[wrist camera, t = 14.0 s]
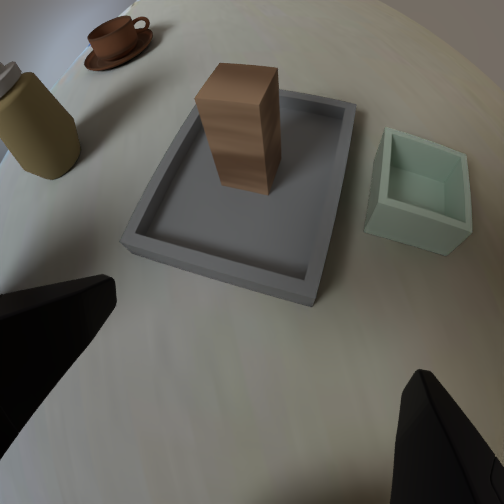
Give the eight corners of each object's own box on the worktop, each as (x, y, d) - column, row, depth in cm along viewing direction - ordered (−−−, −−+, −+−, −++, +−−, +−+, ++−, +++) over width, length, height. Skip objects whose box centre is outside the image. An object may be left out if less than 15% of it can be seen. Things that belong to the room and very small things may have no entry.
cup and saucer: (131, 34, 42) (121, 8, 37) (170, 41, 39) (160, 10, 33) (78, 71, 40) (64, 45, 34) (108, 83, 36) (92, 52, 30)
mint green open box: (446, 256, 22) (472, 232, 18) (363, 232, 23) (377, 202, 19) (446, 183, 24) (466, 154, 20) (373, 160, 26) (385, 126, 22)
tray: (311, 307, 22) (315, 299, 19) (132, 253, 25) (119, 241, 22) (352, 121, 28) (356, 104, 26) (214, 98, 31) (210, 82, 29)
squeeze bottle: (28, 179, 30) (-57, 87, 14) (65, 130, 33) (-2, 30, 16) (59, 197, 28) (-44, 84, 12) (101, 140, 31) (26, 17, 14)
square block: (268, 195, 25) (258, 104, 16) (221, 185, 25) (194, 98, 17) (281, 158, 26) (277, 67, 17) (237, 149, 27) (219, 62, 18)
